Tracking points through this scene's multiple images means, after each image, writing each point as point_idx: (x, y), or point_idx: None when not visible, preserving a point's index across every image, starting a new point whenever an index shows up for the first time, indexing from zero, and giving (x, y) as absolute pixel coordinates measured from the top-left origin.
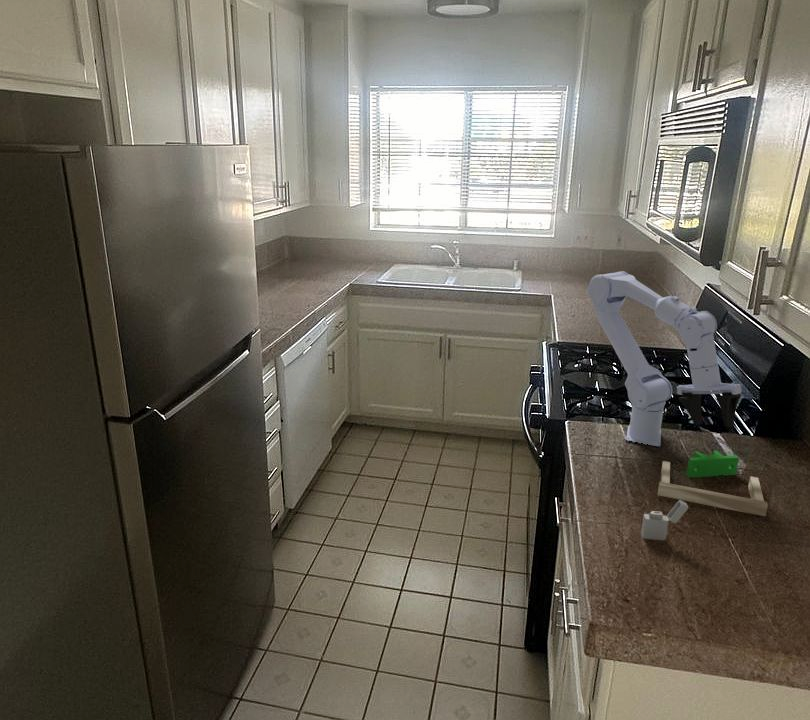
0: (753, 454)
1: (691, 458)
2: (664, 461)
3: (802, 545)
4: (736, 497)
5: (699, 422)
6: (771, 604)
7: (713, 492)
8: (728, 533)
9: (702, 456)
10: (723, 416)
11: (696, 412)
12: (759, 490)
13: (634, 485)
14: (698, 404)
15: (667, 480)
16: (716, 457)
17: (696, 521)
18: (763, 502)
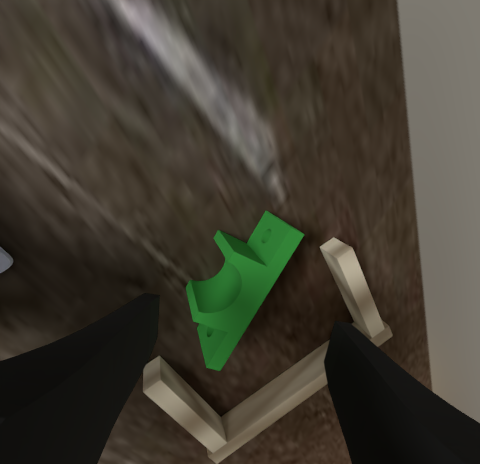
0: (257, 10)
1: (212, 363)
2: (148, 390)
3: (426, 338)
4: None
5: (154, 324)
6: None
7: (305, 389)
8: None
9: (226, 325)
10: (346, 429)
11: (121, 375)
12: (369, 300)
13: (155, 455)
14: (90, 390)
15: (216, 439)
16: (258, 295)
17: (299, 427)
18: (384, 333)
